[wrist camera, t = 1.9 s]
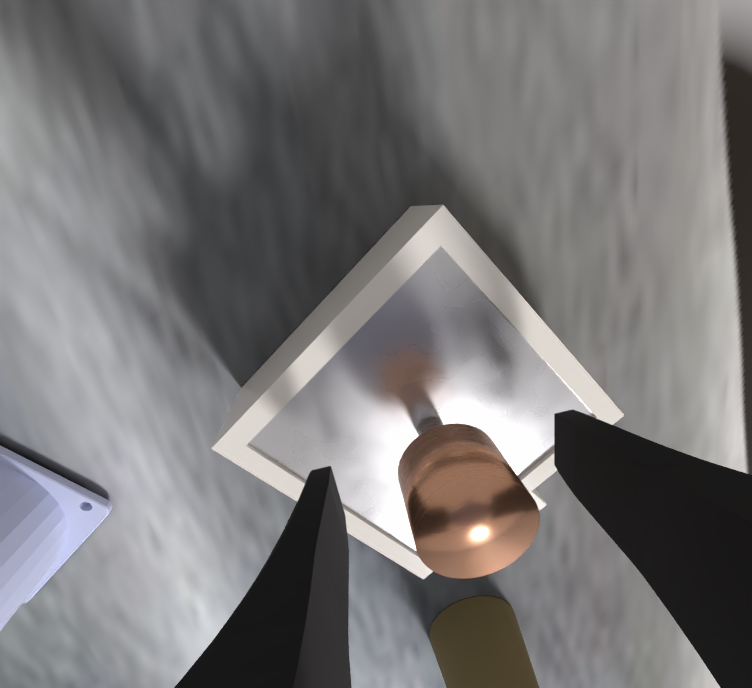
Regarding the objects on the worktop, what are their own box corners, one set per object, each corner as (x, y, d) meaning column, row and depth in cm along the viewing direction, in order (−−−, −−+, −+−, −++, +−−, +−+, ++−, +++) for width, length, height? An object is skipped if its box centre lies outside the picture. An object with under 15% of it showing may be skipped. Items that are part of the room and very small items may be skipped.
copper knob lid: (249, 434, 13) (204, 563, 8) (435, 243, 11) (510, 267, 7) (420, 547, 16) (459, 689, 11) (585, 408, 14) (710, 505, 10)
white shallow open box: (240, 388, 16) (211, 448, 12) (410, 206, 14) (443, 204, 10) (427, 519, 20) (452, 597, 16) (577, 391, 19) (648, 442, 15)
